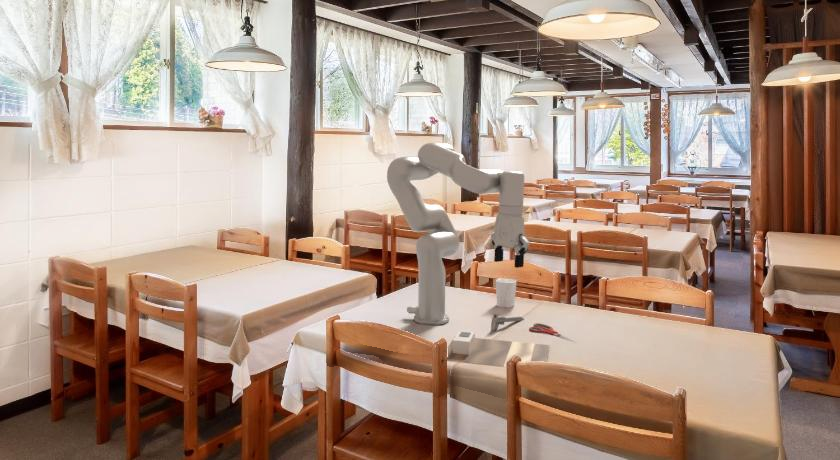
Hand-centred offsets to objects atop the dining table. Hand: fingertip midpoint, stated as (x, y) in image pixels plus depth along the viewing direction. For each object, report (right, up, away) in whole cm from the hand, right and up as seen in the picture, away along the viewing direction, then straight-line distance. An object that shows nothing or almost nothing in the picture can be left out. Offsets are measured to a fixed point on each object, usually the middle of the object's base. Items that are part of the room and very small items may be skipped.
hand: (508, 264), depth 186 cm
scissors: (+18, -25, +9) cm, 31 cm away
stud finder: (-15, -25, -7) cm, 30 cm away
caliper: (+3, -23, +18) cm, 29 cm away
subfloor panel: (-5, -26, -10) cm, 29 cm away
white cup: (+5, -19, +43) cm, 47 cm away
